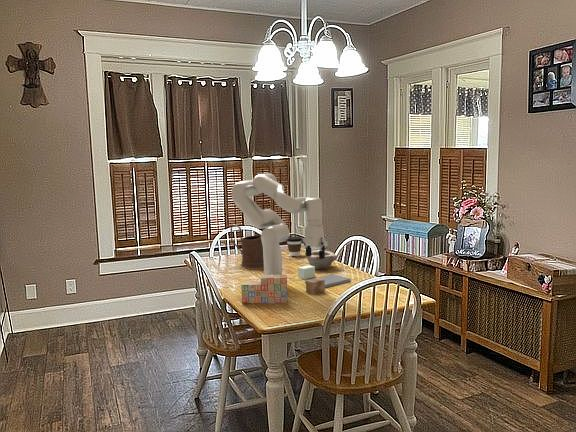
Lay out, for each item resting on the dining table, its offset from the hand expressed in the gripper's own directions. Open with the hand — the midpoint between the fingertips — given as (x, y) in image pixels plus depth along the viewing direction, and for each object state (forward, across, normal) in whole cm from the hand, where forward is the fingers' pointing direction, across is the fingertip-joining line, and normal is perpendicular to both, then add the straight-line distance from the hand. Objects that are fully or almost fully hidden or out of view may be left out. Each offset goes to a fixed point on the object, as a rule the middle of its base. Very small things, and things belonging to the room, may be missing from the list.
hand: (315, 257), depth 259 cm
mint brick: (+18, -25, +16) cm, 35 cm away
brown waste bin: (+17, -73, +12) cm, 76 cm away
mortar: (+18, -36, +37) cm, 55 cm away
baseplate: (+18, -9, +17) cm, 26 cm away
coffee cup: (+17, -75, +49) cm, 91 cm away
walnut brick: (+18, 0, 0) cm, 18 cm away
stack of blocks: (+18, -4, -29) cm, 34 cm away
